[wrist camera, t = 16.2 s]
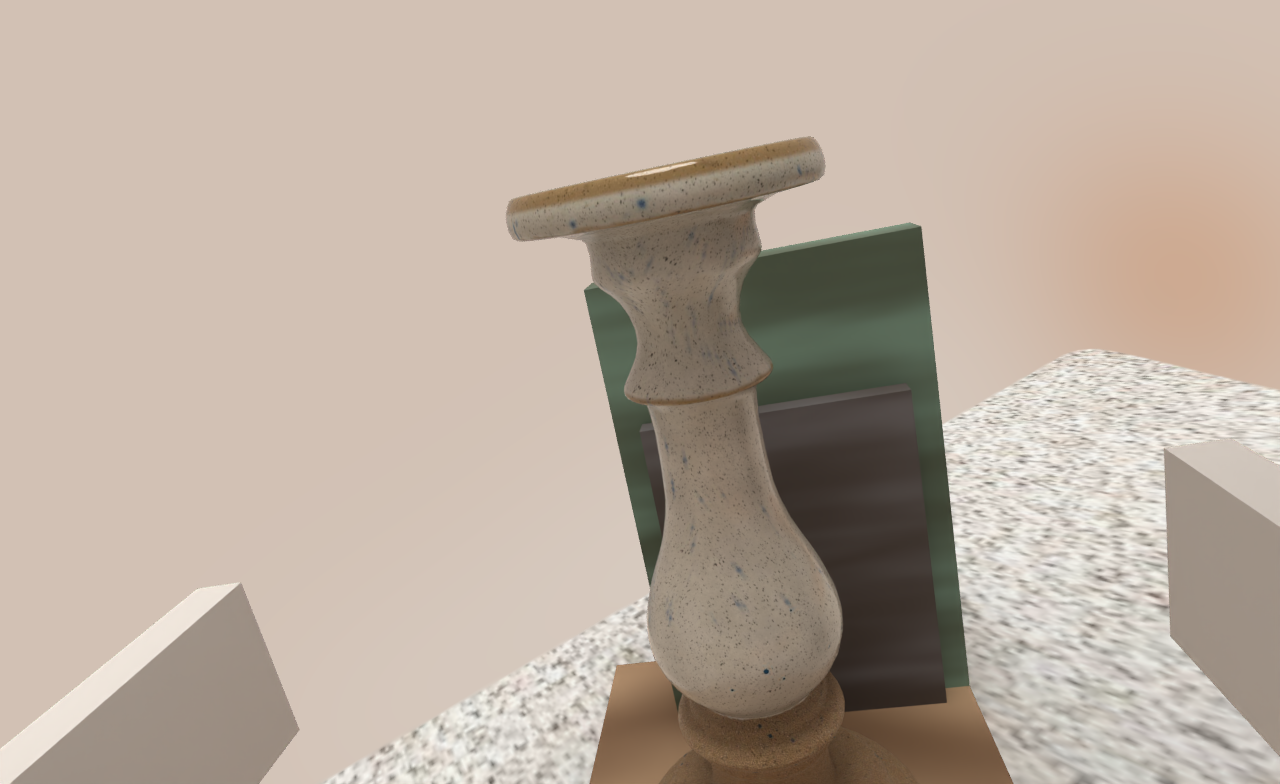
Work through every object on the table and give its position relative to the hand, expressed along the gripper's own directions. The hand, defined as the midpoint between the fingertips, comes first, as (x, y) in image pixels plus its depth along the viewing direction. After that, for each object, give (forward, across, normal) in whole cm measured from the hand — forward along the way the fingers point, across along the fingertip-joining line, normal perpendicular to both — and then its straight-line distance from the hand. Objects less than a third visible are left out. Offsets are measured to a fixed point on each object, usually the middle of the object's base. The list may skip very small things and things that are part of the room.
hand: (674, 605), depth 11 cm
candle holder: (+9, 0, -15) cm, 17 cm away
